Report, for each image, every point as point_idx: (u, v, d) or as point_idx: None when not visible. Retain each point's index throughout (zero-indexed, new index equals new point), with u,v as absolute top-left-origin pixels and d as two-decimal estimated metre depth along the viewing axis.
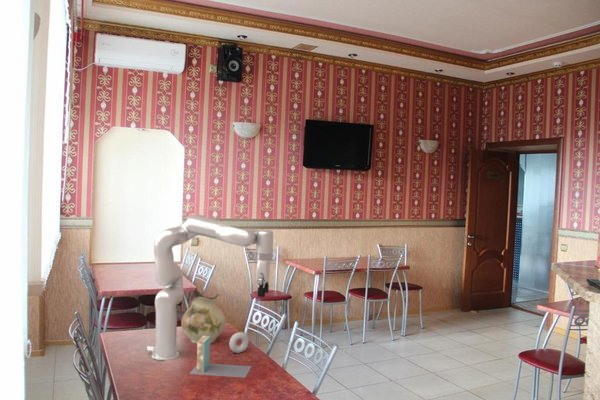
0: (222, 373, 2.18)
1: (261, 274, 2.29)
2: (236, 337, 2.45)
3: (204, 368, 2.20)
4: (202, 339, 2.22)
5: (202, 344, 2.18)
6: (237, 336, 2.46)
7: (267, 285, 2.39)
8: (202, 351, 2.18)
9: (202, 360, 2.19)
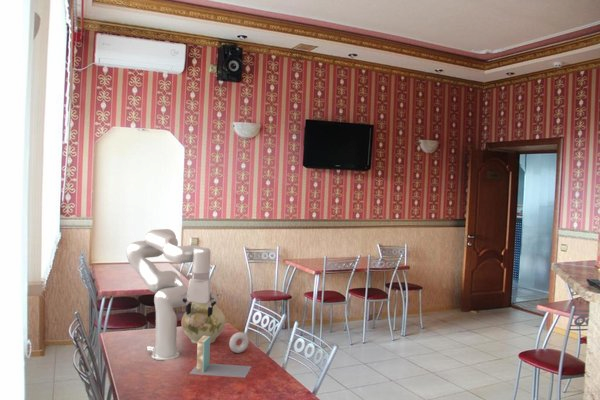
0: (222, 373, 2.18)
1: (211, 293, 2.24)
2: (236, 337, 2.45)
3: (204, 368, 2.20)
4: (202, 339, 2.22)
5: (202, 344, 2.18)
6: (237, 336, 2.46)
7: (190, 305, 2.27)
8: (202, 351, 2.18)
9: (202, 360, 2.19)
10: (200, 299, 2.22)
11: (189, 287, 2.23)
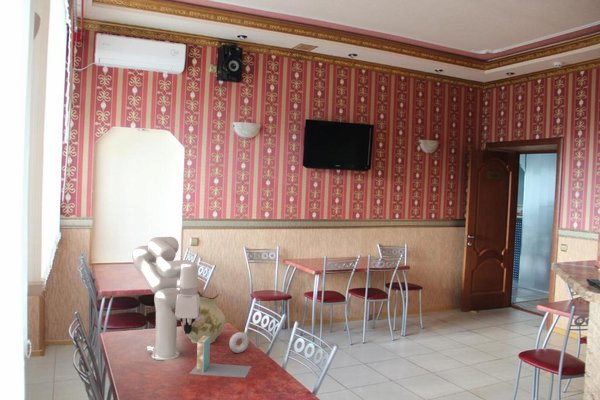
0: (222, 373, 2.18)
1: None
2: (236, 337, 2.45)
3: (204, 368, 2.20)
4: (202, 339, 2.22)
5: (202, 344, 2.18)
6: (237, 336, 2.46)
7: None
8: (202, 351, 2.18)
9: (202, 360, 2.19)
10: (189, 314, 2.20)
11: (177, 303, 2.21)
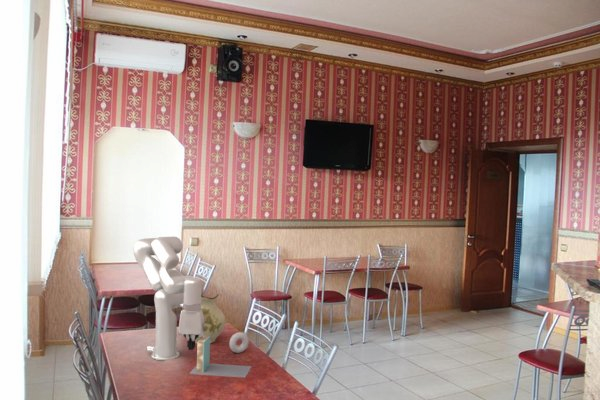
0: (222, 373, 2.18)
1: None
2: (236, 337, 2.45)
3: (204, 368, 2.20)
4: (202, 339, 2.22)
5: (202, 344, 2.18)
6: (237, 336, 2.46)
7: None
8: (202, 351, 2.18)
9: (202, 360, 2.19)
10: (192, 331, 2.20)
11: (181, 319, 2.21)
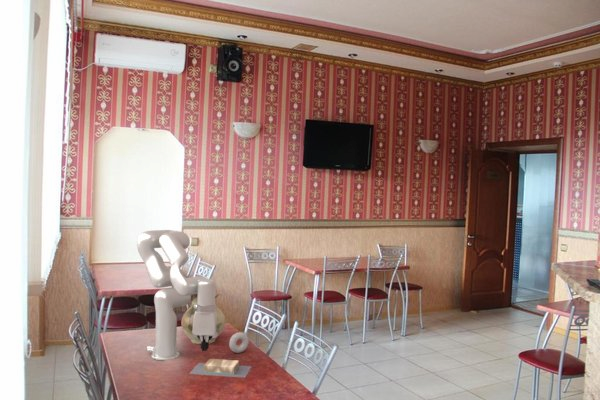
0: None
1: None
2: (236, 337, 2.45)
3: None
4: (236, 367, 2.21)
5: (231, 372, 2.17)
6: (237, 336, 2.46)
7: None
8: (224, 372, 2.18)
9: (215, 371, 2.18)
10: (206, 332, 2.20)
11: (194, 320, 2.21)
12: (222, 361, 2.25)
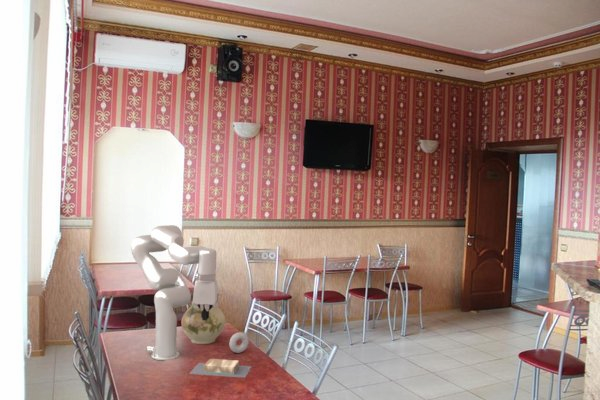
0: None
1: None
2: (236, 337, 2.45)
3: None
4: (236, 367, 2.21)
5: (231, 372, 2.17)
6: (237, 336, 2.46)
7: None
8: (224, 372, 2.18)
9: (215, 371, 2.18)
10: (207, 301, 2.20)
11: (195, 289, 2.21)
12: (222, 361, 2.25)
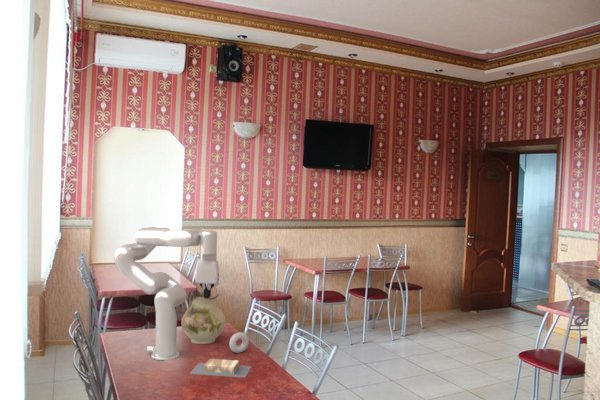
0: None
1: None
2: (236, 337, 2.45)
3: None
4: (236, 367, 2.21)
5: (231, 372, 2.17)
6: (237, 336, 2.46)
7: None
8: (224, 372, 2.18)
9: (215, 371, 2.18)
10: (208, 280, 2.30)
11: (197, 268, 2.31)
12: (222, 361, 2.25)
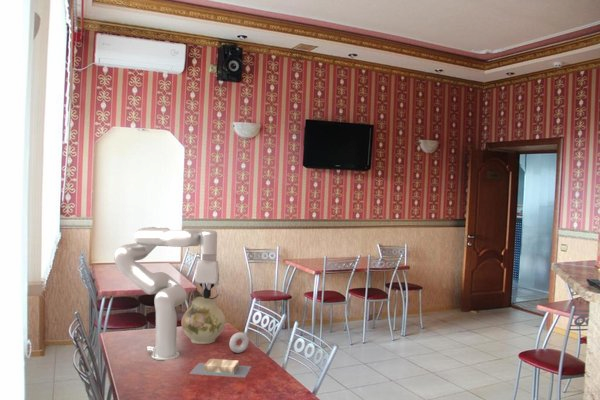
0: None
1: None
2: (236, 337, 2.45)
3: None
4: (236, 367, 2.21)
5: (231, 372, 2.17)
6: (237, 336, 2.46)
7: None
8: (224, 372, 2.18)
9: (215, 371, 2.18)
10: (208, 280, 2.30)
11: (197, 268, 2.31)
12: (222, 361, 2.25)
